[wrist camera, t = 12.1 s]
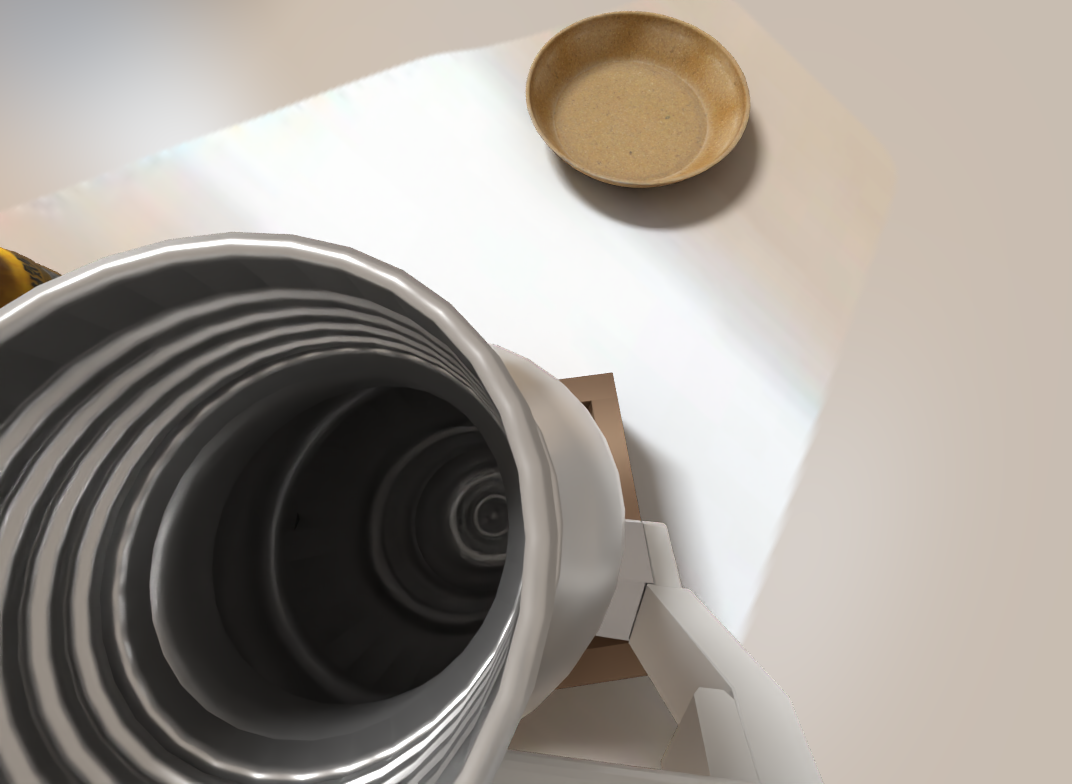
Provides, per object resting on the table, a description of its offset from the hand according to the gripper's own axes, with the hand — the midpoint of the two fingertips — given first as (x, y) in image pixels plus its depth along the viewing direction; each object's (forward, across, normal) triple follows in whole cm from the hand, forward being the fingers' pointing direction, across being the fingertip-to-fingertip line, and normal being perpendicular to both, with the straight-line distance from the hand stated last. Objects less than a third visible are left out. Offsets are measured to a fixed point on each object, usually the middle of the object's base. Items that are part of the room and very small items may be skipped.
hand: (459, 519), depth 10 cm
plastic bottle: (+9, 0, +9) cm, 12 cm away
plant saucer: (+30, -5, -9) cm, 32 cm away
